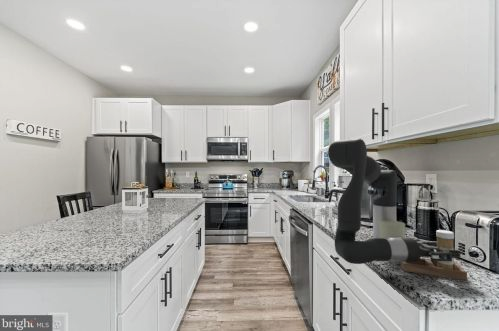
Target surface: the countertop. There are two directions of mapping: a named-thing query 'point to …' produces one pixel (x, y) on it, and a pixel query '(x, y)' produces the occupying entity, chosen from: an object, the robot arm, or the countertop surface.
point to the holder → (434, 269)
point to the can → (392, 229)
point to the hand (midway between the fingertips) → (448, 249)
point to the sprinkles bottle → (445, 246)
